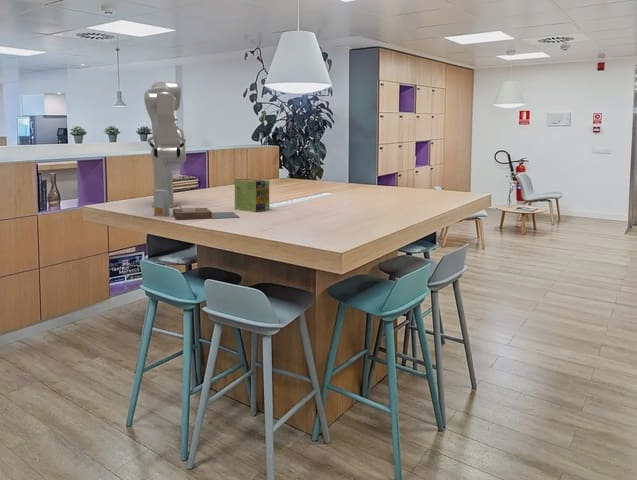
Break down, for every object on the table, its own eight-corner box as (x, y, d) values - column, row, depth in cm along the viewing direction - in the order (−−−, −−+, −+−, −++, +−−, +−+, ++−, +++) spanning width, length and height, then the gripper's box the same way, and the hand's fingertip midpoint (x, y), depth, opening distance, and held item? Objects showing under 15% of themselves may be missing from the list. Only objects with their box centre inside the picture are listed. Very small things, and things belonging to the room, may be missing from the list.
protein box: (256, 212, 280) (255, 181, 277) (234, 209, 289) (234, 179, 286) (270, 210, 288) (270, 180, 285) (248, 207, 297) (248, 178, 294)
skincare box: (153, 215, 265) (152, 190, 263) (159, 213, 269) (158, 189, 267) (164, 216, 263) (163, 191, 261) (169, 214, 267) (169, 190, 264)
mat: (206, 213, 273) (206, 212, 273) (232, 212, 277) (232, 211, 277) (212, 218, 258) (212, 218, 258) (239, 217, 262) (239, 216, 262)
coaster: (179, 209, 264) (179, 205, 264) (192, 209, 266) (192, 204, 266) (182, 212, 256) (182, 208, 256) (195, 211, 258) (195, 207, 258)
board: (173, 215, 266) (172, 209, 265) (206, 213, 272) (206, 207, 271) (176, 219, 253) (176, 213, 253) (211, 218, 259) (211, 212, 258)
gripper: (184, 120, 261) (185, 157, 264) (145, 120, 255) (147, 157, 258) (186, 119, 254) (187, 157, 257) (146, 119, 248) (148, 157, 251)
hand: (167, 157), depth 258 cm, fingers open, 9 cm apart
